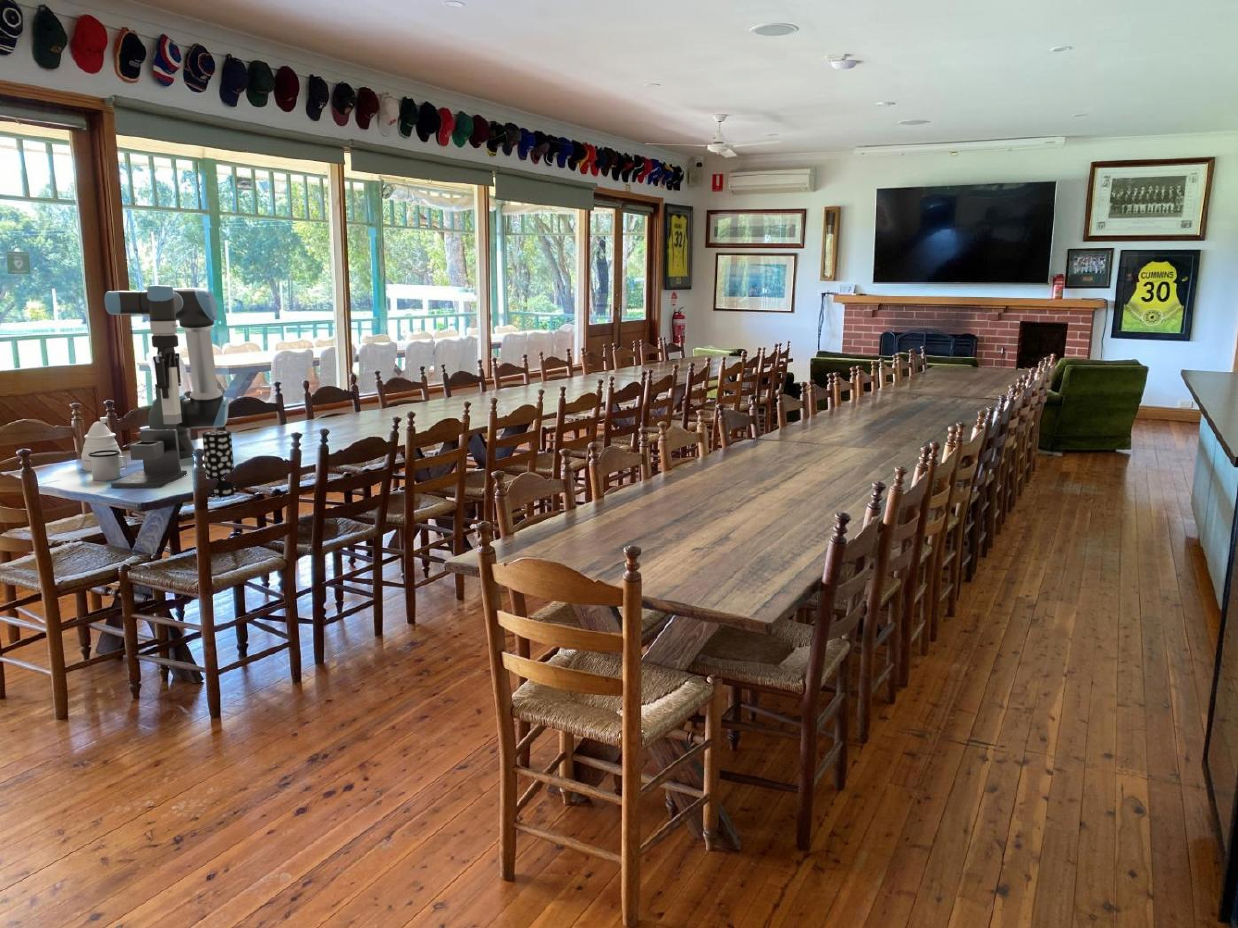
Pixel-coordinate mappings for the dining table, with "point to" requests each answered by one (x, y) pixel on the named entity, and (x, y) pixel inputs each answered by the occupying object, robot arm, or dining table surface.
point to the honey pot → (98, 443)
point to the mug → (106, 465)
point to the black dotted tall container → (219, 461)
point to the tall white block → (173, 400)
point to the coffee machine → (154, 460)
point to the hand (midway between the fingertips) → (171, 407)
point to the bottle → (158, 415)
